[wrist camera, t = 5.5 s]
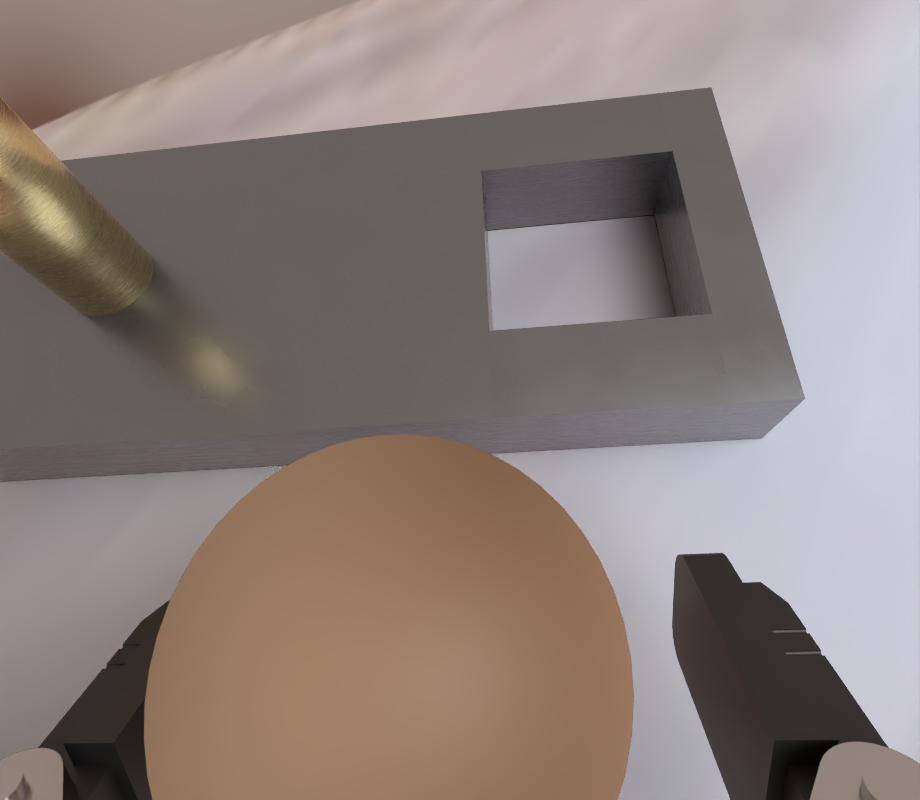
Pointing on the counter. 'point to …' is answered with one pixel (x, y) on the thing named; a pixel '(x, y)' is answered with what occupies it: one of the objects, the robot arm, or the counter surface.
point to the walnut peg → (391, 640)
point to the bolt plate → (371, 293)
